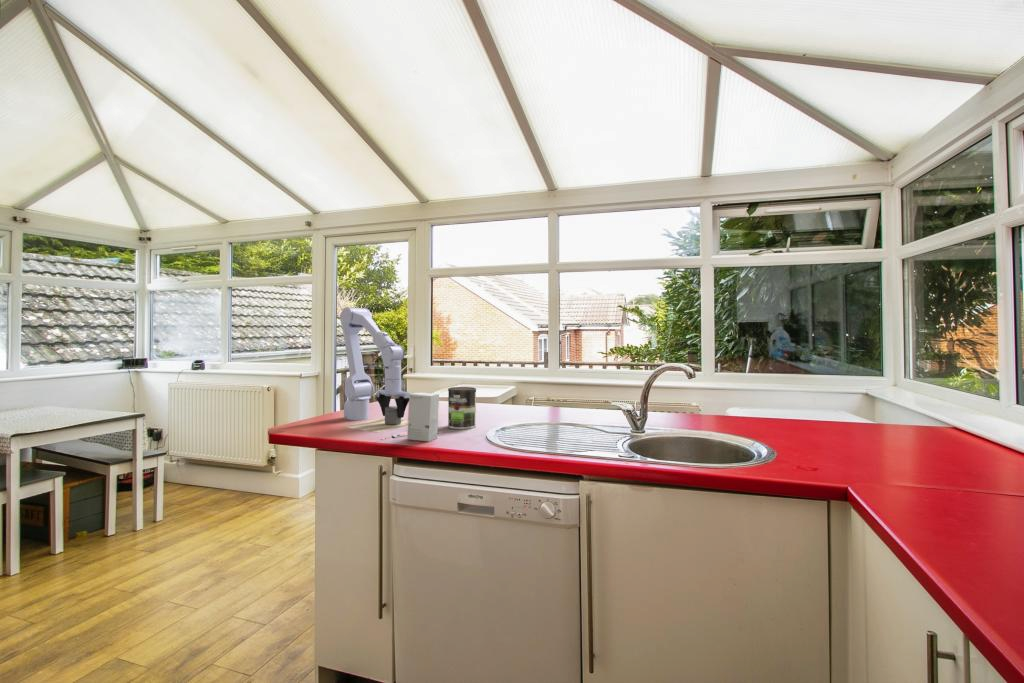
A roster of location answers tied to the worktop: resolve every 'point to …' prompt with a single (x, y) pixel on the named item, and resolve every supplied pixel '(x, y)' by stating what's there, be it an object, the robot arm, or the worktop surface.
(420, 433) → the skincare box
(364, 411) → the robot arm
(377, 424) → the beige cloth
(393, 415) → the cap
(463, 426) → the coffee can
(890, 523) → the worktop surface
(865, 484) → the worktop surface
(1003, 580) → the worktop surface
